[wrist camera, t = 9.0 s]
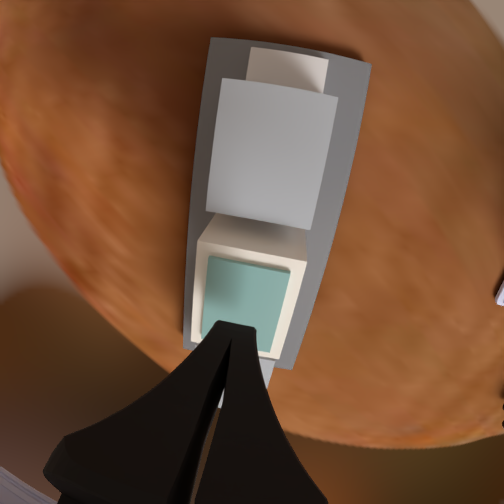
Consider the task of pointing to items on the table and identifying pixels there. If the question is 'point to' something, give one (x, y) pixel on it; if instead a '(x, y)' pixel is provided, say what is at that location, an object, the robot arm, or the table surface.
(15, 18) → the table surface
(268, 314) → the cream module
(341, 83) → the board
